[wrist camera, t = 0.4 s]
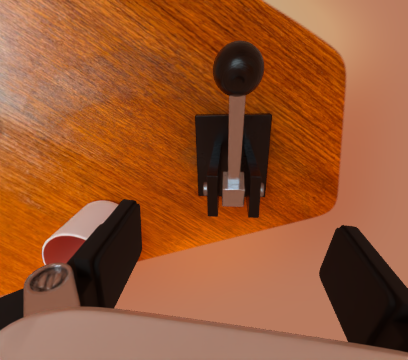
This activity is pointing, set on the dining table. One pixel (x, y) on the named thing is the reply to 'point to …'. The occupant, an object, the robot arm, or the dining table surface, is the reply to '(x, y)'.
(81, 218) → the cup
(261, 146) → the bracket
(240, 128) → the lever
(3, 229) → the dining table surface
